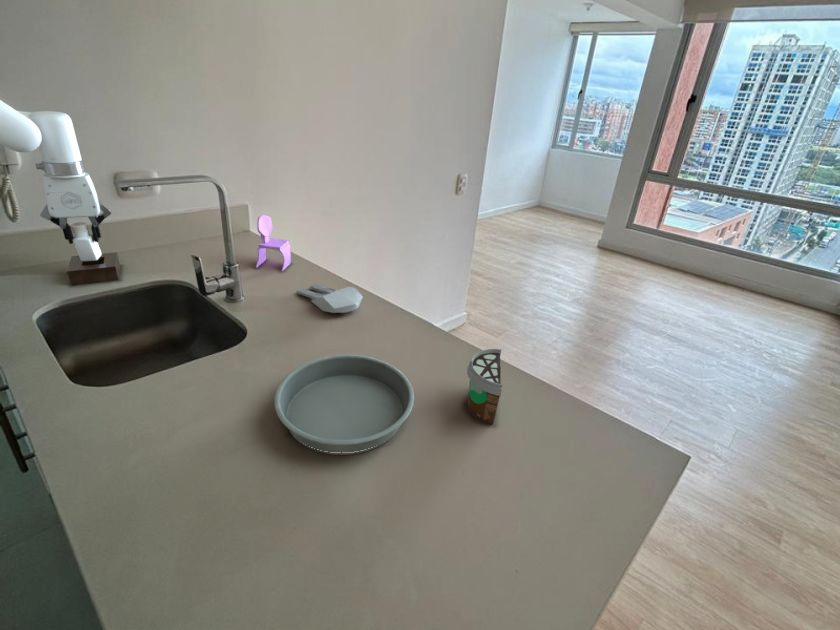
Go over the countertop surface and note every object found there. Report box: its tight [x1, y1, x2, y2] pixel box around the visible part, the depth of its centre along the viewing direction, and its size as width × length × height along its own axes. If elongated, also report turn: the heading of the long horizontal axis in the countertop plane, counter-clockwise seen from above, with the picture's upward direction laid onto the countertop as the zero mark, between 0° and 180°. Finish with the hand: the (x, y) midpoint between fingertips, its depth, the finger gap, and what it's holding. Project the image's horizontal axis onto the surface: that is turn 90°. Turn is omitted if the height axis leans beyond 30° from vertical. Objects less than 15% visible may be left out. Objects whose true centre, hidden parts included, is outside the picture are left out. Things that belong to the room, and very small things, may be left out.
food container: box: [466, 348, 503, 425], centre depth 85 cm, size 12×6×10 cm, turn 172°
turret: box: [296, 283, 363, 314], centre depth 117 cm, size 10×20×5 cm, turn 50°
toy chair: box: [255, 214, 292, 272], centre depth 131 cm, size 8×9×15 cm
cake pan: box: [273, 354, 415, 456], centre depth 81 cm, size 25×25×4 cm
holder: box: [66, 251, 121, 286], centre depth 119 cm, size 10×10×4 cm
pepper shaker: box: [70, 221, 102, 261], centre depth 115 cm, size 4×4×10 cm
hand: (84, 240), depth 115 cm, fingers closed on pepper shaker, 4 cm apart
